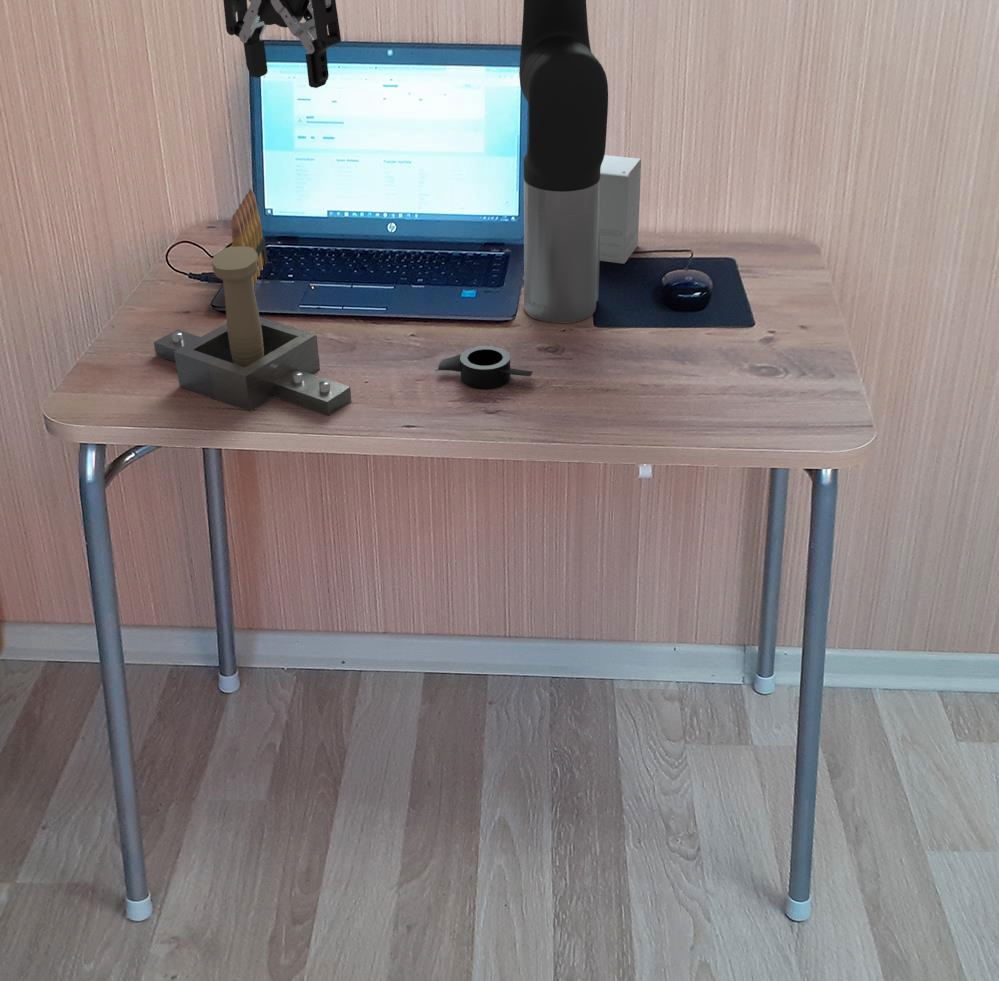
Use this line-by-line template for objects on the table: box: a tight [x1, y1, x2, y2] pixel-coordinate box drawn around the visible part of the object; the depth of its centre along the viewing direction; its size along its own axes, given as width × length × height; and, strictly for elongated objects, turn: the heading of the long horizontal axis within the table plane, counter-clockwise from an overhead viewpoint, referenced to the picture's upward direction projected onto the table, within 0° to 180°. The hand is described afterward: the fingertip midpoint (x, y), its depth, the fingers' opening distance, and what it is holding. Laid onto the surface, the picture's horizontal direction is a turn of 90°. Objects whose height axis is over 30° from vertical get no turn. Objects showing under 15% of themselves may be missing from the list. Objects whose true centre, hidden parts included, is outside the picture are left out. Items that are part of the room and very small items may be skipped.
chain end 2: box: [209, 322, 352, 417], centre depth 148 cm, size 14×12×4 cm
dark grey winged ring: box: [437, 345, 534, 391], centre depth 151 cm, size 8×10×3 cm
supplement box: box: [598, 154, 642, 265], centre depth 178 cm, size 7×7×13 cm
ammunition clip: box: [231, 188, 269, 285], centre depth 170 cm, size 11×2×12 cm, turn 176°
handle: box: [211, 246, 264, 367], centre depth 148 cm, size 5×6×15 cm
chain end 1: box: [153, 316, 281, 400], centre depth 154 cm, size 14×12×4 cm
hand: (288, 80), depth 144 cm, fingers open, 8 cm apart
